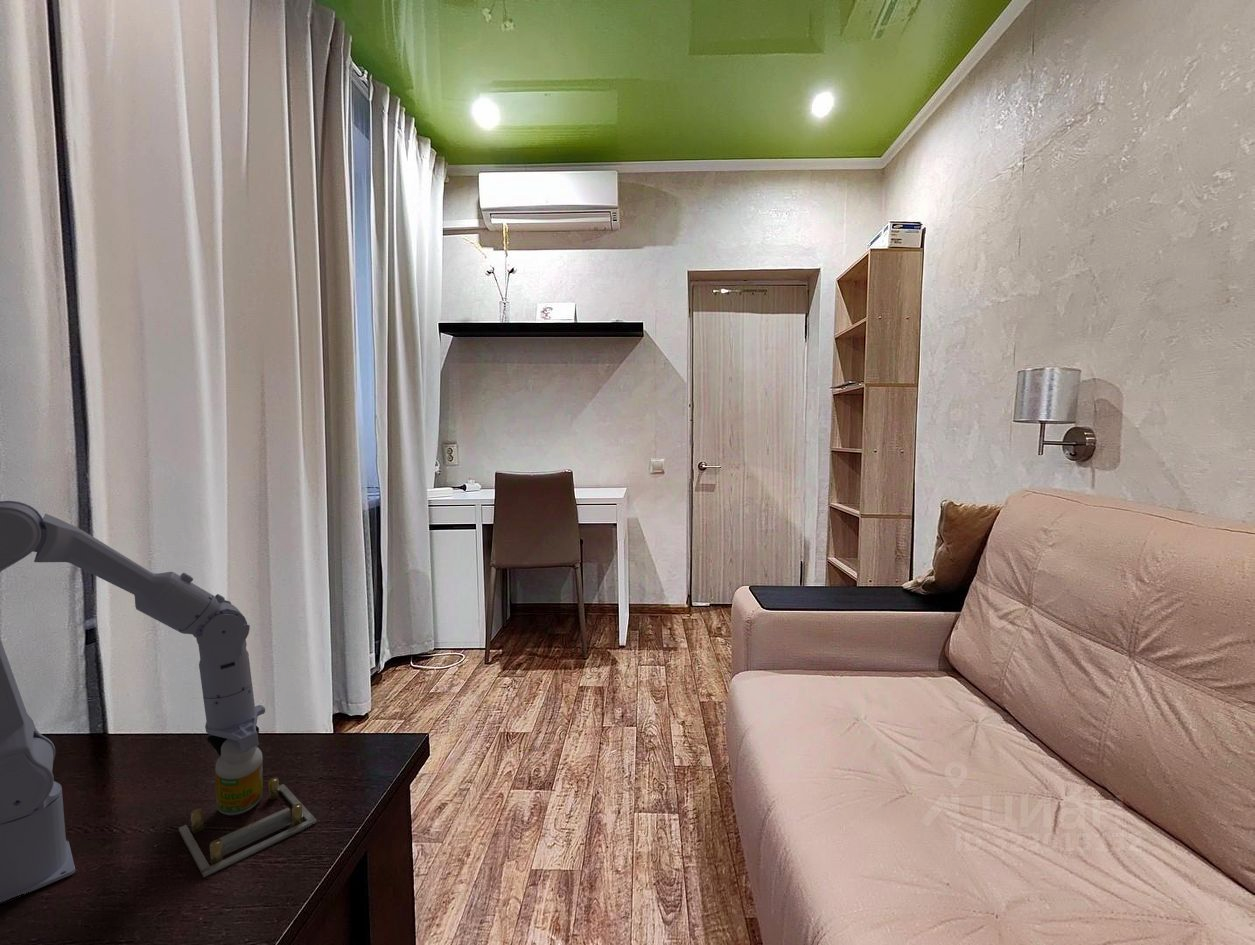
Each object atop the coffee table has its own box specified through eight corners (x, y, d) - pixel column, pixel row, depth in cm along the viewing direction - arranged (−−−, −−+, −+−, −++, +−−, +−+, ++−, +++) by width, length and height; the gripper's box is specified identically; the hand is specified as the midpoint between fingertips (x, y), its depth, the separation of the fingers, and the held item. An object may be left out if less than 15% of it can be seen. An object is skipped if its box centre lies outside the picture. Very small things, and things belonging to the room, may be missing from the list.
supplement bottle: (213, 821, 77) (211, 763, 75) (219, 789, 82) (217, 733, 79) (261, 810, 80) (260, 754, 77) (264, 780, 84) (263, 726, 82)
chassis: (203, 877, 68) (202, 857, 67) (179, 831, 76) (177, 813, 75) (316, 823, 77) (315, 805, 77) (283, 787, 85) (282, 770, 85)
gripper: (278, 691, 80) (289, 783, 81) (243, 665, 89) (253, 747, 90) (217, 713, 74) (230, 811, 76) (187, 682, 84) (199, 770, 85)
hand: (239, 778), depth 83 cm, fingers closed, pressing on supplement bottle
